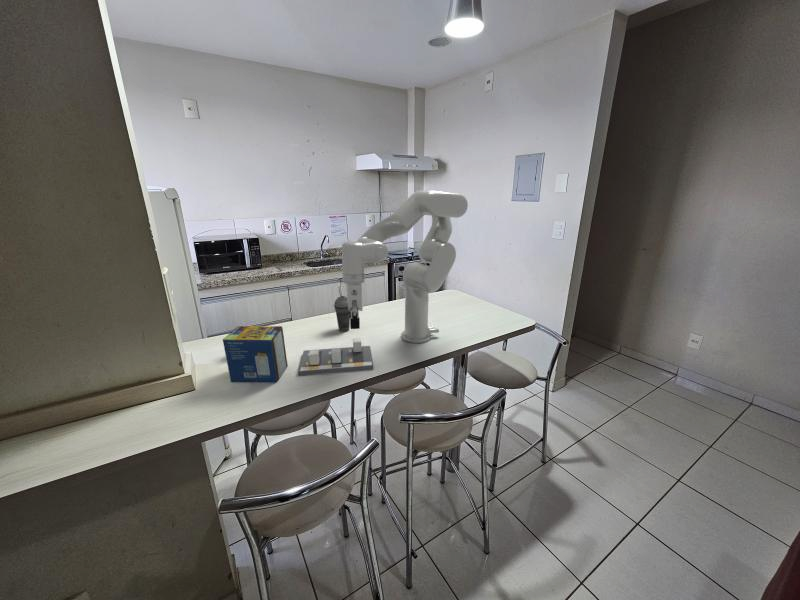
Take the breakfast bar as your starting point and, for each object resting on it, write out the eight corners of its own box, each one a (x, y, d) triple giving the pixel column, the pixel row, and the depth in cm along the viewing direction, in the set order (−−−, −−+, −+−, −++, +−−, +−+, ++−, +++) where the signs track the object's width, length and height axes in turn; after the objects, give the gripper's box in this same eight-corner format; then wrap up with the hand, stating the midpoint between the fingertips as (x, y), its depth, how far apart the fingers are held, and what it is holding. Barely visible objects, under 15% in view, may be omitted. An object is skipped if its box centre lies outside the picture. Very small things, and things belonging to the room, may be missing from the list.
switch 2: (361, 347, 124) (360, 338, 122) (361, 351, 121) (361, 341, 120) (353, 348, 123) (352, 338, 122) (353, 352, 120) (353, 342, 119)
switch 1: (319, 360, 115) (318, 349, 114) (319, 364, 112) (318, 354, 111) (310, 360, 114) (309, 350, 113) (310, 365, 112) (309, 354, 110)
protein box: (244, 366, 115) (237, 325, 110) (288, 366, 115) (283, 325, 110) (229, 383, 105) (221, 339, 100) (277, 383, 105) (271, 339, 100)
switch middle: (341, 358, 116) (340, 348, 115) (341, 362, 113) (340, 352, 112) (332, 359, 116) (331, 348, 114) (332, 363, 113) (331, 352, 111)
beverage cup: (349, 334, 140) (346, 289, 133) (333, 332, 141) (330, 288, 135) (354, 327, 146) (352, 284, 140) (339, 326, 148) (336, 283, 141)
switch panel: (370, 349, 127) (370, 345, 126) (373, 369, 113) (373, 364, 112) (304, 354, 123) (303, 349, 122) (299, 375, 109) (298, 370, 108)
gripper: (366, 284, 105) (366, 332, 111) (363, 271, 121) (363, 314, 127) (342, 284, 104) (344, 333, 109) (342, 272, 120) (344, 315, 126)
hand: (354, 323), depth 118 cm, fingers open, 9 cm apart
